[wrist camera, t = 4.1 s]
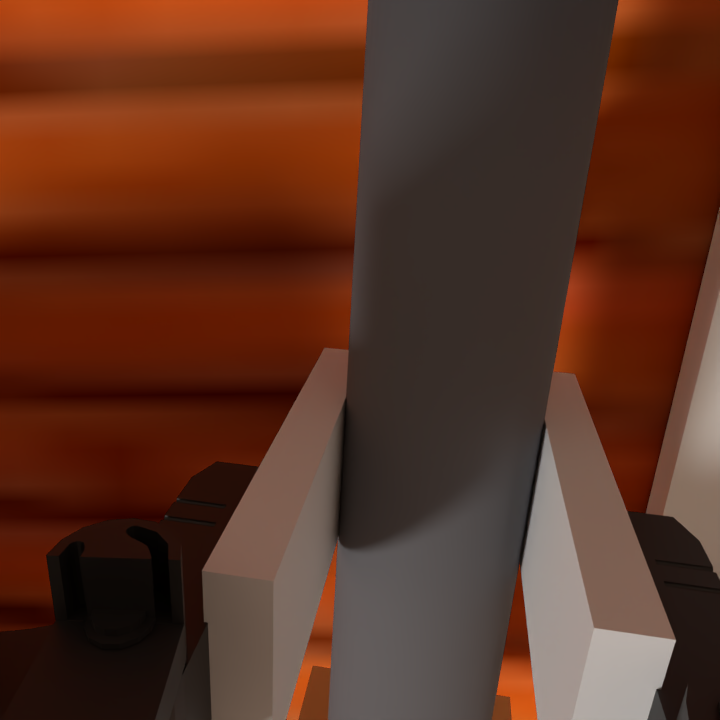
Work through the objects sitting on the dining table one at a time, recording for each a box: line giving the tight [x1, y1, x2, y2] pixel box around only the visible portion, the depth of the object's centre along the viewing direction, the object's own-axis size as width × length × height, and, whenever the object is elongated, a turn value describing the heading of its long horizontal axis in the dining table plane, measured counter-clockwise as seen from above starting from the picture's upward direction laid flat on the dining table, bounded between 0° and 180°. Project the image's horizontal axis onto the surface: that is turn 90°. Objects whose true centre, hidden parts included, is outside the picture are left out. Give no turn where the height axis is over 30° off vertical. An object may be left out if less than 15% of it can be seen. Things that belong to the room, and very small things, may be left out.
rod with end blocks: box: [299, 0, 618, 720], centre depth 12 cm, size 24×5×6 cm, turn 177°
